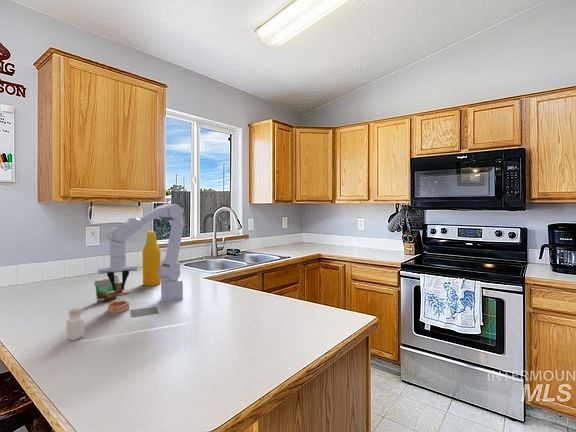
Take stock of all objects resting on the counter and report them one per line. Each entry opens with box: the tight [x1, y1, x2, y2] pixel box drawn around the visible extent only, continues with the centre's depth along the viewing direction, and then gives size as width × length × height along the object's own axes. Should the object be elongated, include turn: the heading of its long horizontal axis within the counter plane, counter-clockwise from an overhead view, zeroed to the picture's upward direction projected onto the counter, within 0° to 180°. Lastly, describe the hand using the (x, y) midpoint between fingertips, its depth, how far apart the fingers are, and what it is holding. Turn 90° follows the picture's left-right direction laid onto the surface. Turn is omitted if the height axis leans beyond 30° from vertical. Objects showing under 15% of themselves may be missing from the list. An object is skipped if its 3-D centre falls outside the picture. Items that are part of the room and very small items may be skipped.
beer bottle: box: [142, 231, 162, 287], centre depth 179 cm, size 9×9×29 cm
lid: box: [107, 281, 131, 297], centre depth 133 cm, size 9×9×4 cm
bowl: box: [107, 299, 130, 314], centre depth 134 cm, size 8×8×3 cm
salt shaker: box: [66, 307, 85, 341], centre depth 106 cm, size 4×4×10 cm
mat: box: [129, 306, 160, 318], centre depth 131 cm, size 10×10×1 cm
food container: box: [93, 274, 120, 303], centre depth 150 cm, size 12×6×10 cm, turn 168°
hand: (118, 289), depth 134 cm, fingers closed on lid, 3 cm apart
